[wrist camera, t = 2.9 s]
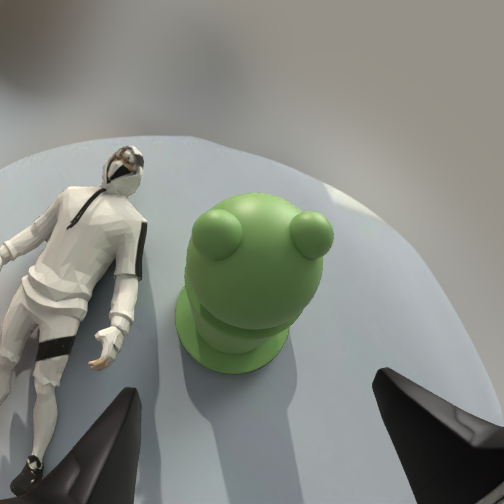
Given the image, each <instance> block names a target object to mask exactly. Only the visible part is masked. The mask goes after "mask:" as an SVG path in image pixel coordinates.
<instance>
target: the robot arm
mask: <svg viewBox="0 0 504 504" xmlns="http://www.w3.org/2000/svg"><path fill="white" fill-rule="evenodd" d="M372 388H373V392H374V395H375V398H376V401H377V404H378V407H379V411H380V414H381V417H382V419H383V422H384V424H385V426H386V429H387V431H388V433H389V436H390V438H391V440H392V442H393V445H394V447H395V450H396V452H397V454H398V457H399V459H400V461H401V464H402V466H403V469H404V471H405V474H406V476H407V479H408V481H409V484H410V486H411V489H412V491H413V494H414V495H415V496H414V497H415V499H416V502H417V504H504V427H501V426H497V425H495V424H492V423H490V422H488V421H485V420H483V419H481V418H478V417H476V416H474V415H472V414H470V413H468V412H466V411H464V410H462V409H460V408H458V407H456V406H455V405H454V406H453V404H451V403H449V402H447V401H446V400H444V399H442V398H440V397H439V396H437V395H435V394H433V393H432V392H430V391H428V390H426V389H425V388H423V387H421V386H419V385H418V384H416V383H414V382H412V381H411V380H409V379H407V378H406V377H404V376H402V375H400V374H399V373H397V372H395V371H394V370H392V369H390V368H388V367H386V368H381V369H379V370H378V371H377V373H376V376H375V378H374V380H373V383H372ZM141 410H142V406H141V401H140V398H139V394H138V391H137V389H136V388H132V387H125V388H124V389H123V390H122V391H121V392H120V393H119V394H118V396H117V397H116V398H115V399H114V400H113V401H112V403H111V404H110V405H109V406H108V407H107V409H106V410H105V411H104V412H103V413H102V414H101V416H100V417H99V418H98V419H97V420H96V421H95V423H94V424H93V425H92V426H91V427H90V428H89V430H88V431H87V432H86V433H85V434H84V436H83V437H82V438H81V439H80V440H79V441H78V443H77V444H76V445H75V446H74V447H73V450H71V451H70V452H69V453H68V454H67V455H66V457H65V458H64V459H63V460H62V461H61V462H60V463H59V464H58V465H57V466H56V467H55V468H54V469H53V470H52V471H51V472H50V473H49V474H48V475H47V476H46V477H45V478H43V479H42V480H41V481H40V482H39V483H38V484H37V485H36V486H34V487H33V488H32V489H31V490H30V491H28V492H27V493H25V494H24V495H21V496H19V497H15V498H9V499H3V500H0V504H134V494H135V484H136V476H137V467H138V460H139V452H140V444H141Z"/></svg>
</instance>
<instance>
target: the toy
mask: <svg viewBox="0 0 504 504" xmlns="http://www.w3.org/2000/svg"><path fill="white" fill-rule="evenodd" d="M333 239H334V233H333V228H332V225H331V224H330V222H329V221H328V219H327V218H326V217H324V216H323V215H322V214H320V213H317V212H313V211H306V212H302V211H300V210H299V209H298V208H297V207H296V206H294V205H293V204H291V203H290V202H288V201H286V200H284V199H282V198H279V197H277V196H273V195H269V194H264V193H247V194H240V195H236V196H233V197H230V198H228V199H225V200H224V201H222V202H220V203H218V204H217V205H215V206H214V207H213V208H211V209H210V210H209V211H207V212H205V213H203V214H202V215H201V216H200V217H199V218H198V219H197V220H196V222H195V223H194V226H193V228H192V236H191V238H190V241H189V245H188V249H187V258H186V262H187V263H186V267H185V286H184V287H183V289H182V291H181V293H180V295H179V298H178V300H177V304H176V309H175V324H176V329H177V333H178V336H179V339H180V341H181V343H182V344H183V346H184V348H185V349H186V350H187V352H188V353H189V354H190V355H191V356H192V357H193V358H194V359H195V360H196V361H197V362H199V363H200V364H201V365H203V366H205V367H206V368H209V369H211V370H213V371H216V372H220V373H226V374H240V373H247V372H250V371H254V370H256V369H258V368H260V367H262V366H264V365H266V364H267V363H268V362H270V361H271V360H272V359H273V358H274V357H275V356H276V355H277V354H278V353H279V351H280V350H281V349H282V347H283V345H284V343H285V341H286V339H287V336H288V333H289V328H290V325H291V324H293V323H294V321H295V320H296V319H297V318H298V317H299V316H300V314H301V313H302V311H303V309H304V308H305V307H306V306H307V305H308V303H309V302H310V301H311V299H312V298H313V296H314V294H315V292H316V290H317V288H318V286H319V283H320V280H321V276H322V270H323V256H324V255H325V254H326V253H327V252H328V251H329V249H330V248H331V246H332V243H333Z"/></svg>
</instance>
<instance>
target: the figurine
mask: <svg viewBox="0 0 504 504" xmlns="http://www.w3.org/2000/svg"><path fill="white" fill-rule="evenodd" d="M143 165H144V160H143V156H142V154H141V153H140V152H139V151H138V150H137V149H136V148H135V147H134V146H125V147H123V148H120V149H119V150H118V151H117V152H115V153H114V154H113V155H112V156H111V157H110V158H109V160H107V161H106V162H105V164H104V166H103V175H102V178H103V182H102V186H98V187H74V186H69V187H68V188H66V189H65V190H64V191H63V192H62V193H61V194H60V195H59V196H58V197H57V199H56V200H55V201H54V202H53V203H52V204H51V205H50V206H49V207H48V208H47V210H46V211H45V212H44V213H43V214H42V215H40V216H39V217H38V218H37V219H36V220H34V222H35V223H34V224H33V225H31V226H30V227H28V228H27V229H25V230H23V231H22V232H20V233H19V234H17V235H16V236H14V237H13V238H12V239H11V240H9V241H6V242H3V245H2V246H1V247H0V270H1V268H2V266H3V265H6V264H7V263H8V262H9V261H10V260H12V261H14V260H15V259H16V258H17V257H18V256H21V255H24V254H26V253H28V252H30V251H31V250H33V249H35V248H37V247H38V246H39V245H40V244H41V243H42V242H43V241H46V242H47V241H48V240H49V239H50V240H49V242H48V244H47V246H46V247H45V249H44V251H43V252H42V254H41V255H40V257H39V258H38V260H37V262H36V265H34V266H31V267H30V269H29V270H28V274H27V275H26V276H24V277H23V278H22V282H21V285H20V287H19V288H18V290H17V292H16V294H15V295H14V297H13V300H12V302H11V304H10V306H9V309H8V311H7V314H6V316H5V318H4V323H3V329H2V334H1V339H0V405H1V404H2V402H3V401H4V400H5V398H6V397H7V396H8V394H9V393H10V390H11V381H12V373H13V367H14V366H15V365H16V364H17V363H18V361H19V360H20V358H21V355H22V352H23V350H24V348H25V345H26V343H27V341H28V339H29V337H30V336H31V334H32V332H33V331H34V329H35V328H36V327H37V326H38V325H39V330H40V335H39V349H38V353H37V358H36V363H35V368H34V371H33V374H32V375H33V376H34V377H35V381H34V385H35V389H36V392H37V399H36V403H35V406H34V410H33V423H34V439H33V452H32V455H31V456H29V457H28V459H27V462H26V465H25V467H24V468H23V470H22V472H21V473H20V474H19V475H18V476H17V477H16V478H15V479H14V480H13V481H12V482H11V485H10V489H11V491H12V492H13V493H14V495H16V496H17V497H19V496H21V495H24V494H25V493H27V492H28V491H30V490H31V489H32V488H33V487H34V486H36V485H37V484H38V483H39V482H40V481H41V480H42V478H43V469H44V466H43V462H42V458H43V455H44V453H45V450H46V448H47V446H48V444H49V442H50V440H51V437H52V435H53V432H54V429H55V425H56V421H57V415H58V410H57V404H56V399H55V393H54V391H55V387H56V385H57V386H58V387H59V386H60V379H61V376H62V373H63V371H64V369H65V366H66V363H67V361H68V358H69V355H70V353H71V349H72V346H73V343H74V339H75V336H76V333H77V330H78V327H79V324H80V322H82V321H83V319H84V318H85V316H86V314H87V305H88V301H89V300H90V298H91V297H92V290H93V288H94V286H95V284H96V283H97V282H98V281H99V280H100V279H101V278H102V276H103V275H104V273H105V272H106V271H107V269H108V268H109V266H110V265H111V263H112V262H113V260H114V259H115V258H116V269H115V272H114V275H113V278H114V279H115V287H114V294H113V297H112V300H111V311H110V313H109V315H108V316H109V319H110V320H111V327H109V328H106V329H103V330H100V331H98V332H97V333H96V334H95V337H96V338H97V340H98V341H101V343H102V345H103V351H102V354H101V357H100V359H98V360H96V361H89V365H92V366H91V369H93V370H101V369H104V368H106V367H108V366H109V365H110V364H111V363H112V362H113V361H114V360H115V358H116V355H117V353H118V352H120V349H121V346H122V341H123V338H124V337H125V336H126V335H128V331H129V327H130V326H131V324H132V323H133V321H134V307H135V304H136V301H137V293H138V282H139V281H141V280H142V255H143V249H144V243H145V238H146V233H147V221H146V220H145V219H144V218H143V217H142V216H141V215H140V214H139V212H138V211H137V210H136V209H135V208H134V207H133V206H132V205H131V204H130V202H129V200H128V196H129V195H132V194H133V193H135V191H136V190H137V188H138V187H139V185H140V181H141V178H142V176H143Z"/></svg>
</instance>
